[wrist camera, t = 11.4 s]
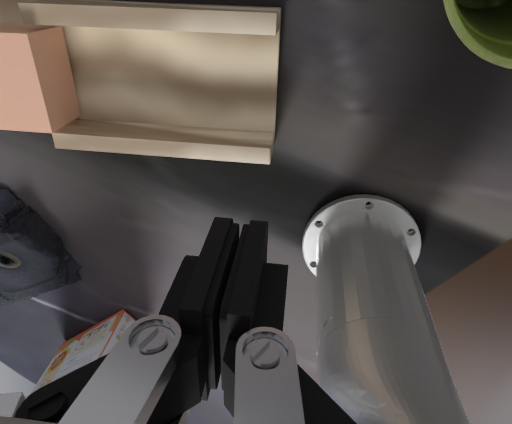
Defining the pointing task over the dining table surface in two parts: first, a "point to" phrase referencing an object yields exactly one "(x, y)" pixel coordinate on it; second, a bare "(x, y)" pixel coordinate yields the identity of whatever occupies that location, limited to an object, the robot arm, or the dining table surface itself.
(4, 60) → the block
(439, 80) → the dining table surface
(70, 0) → the chute
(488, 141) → the dining table surface
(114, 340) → the cracker box
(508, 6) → the plant pot
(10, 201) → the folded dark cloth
